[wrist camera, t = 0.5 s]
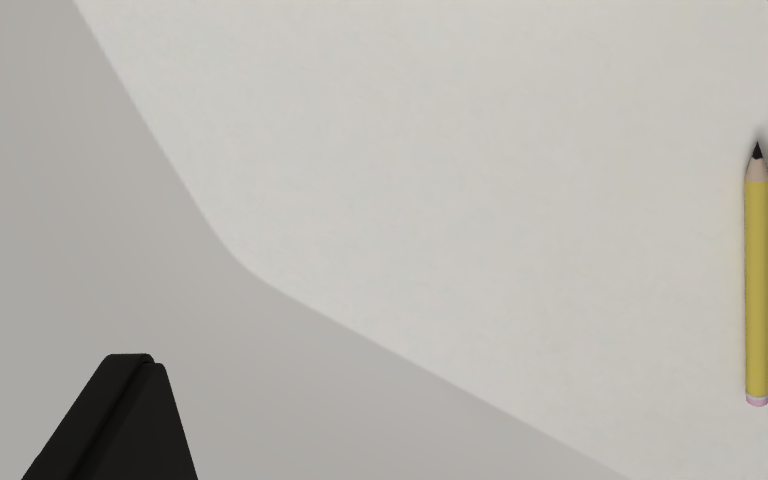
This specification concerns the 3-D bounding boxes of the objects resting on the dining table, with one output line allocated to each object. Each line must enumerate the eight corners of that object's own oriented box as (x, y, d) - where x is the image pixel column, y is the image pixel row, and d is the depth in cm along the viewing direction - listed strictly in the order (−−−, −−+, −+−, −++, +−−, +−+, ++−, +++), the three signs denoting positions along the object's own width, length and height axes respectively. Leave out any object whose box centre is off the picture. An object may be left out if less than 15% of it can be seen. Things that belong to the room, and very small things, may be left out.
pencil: (765, 134, 29) (775, 143, 28) (763, 392, 35) (771, 405, 34) (739, 139, 29) (749, 148, 28) (742, 394, 35) (750, 408, 34)
